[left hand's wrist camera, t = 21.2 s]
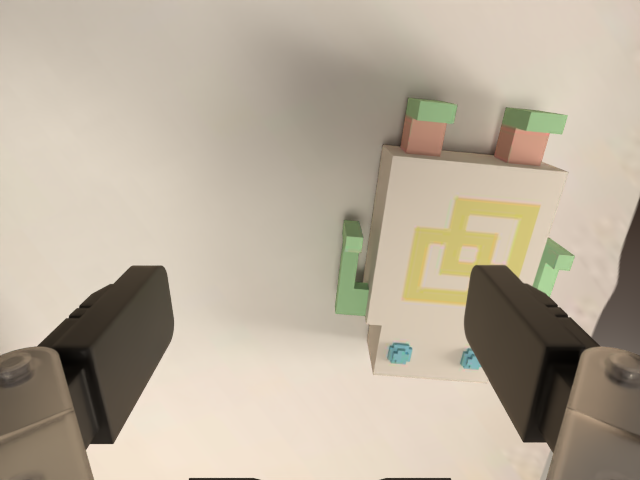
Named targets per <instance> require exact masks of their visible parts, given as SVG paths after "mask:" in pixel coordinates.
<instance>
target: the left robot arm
mask: <svg viewBox="0 0 640 480" xmlns="http://www.w3.org/2000/svg"><path fill="white" fill-rule="evenodd" d="M173 330H174V317H173V310H172V303H171V297H170V290H169V284H168V277H167V272H166V270H165V268H164V267H163V266H131V267H130V268H129V269H128V270H127V271H126V272H125V273H124V274H123V275H122V276H121V277H120V278H119V279H118V280H117V281H116V282H115V283H114V284H110V285H108V286H106V287H104V288H102V289H100V290H98V291H97V292H95V293H93V294H91V295H90V296H89V297H88V298H87V299H86V300H85V301H84V302H83V303H82V304H81V305H80V306H79V308H77V309H76V310H75V311H73V312H72V313H71V314H70V315H69V318H66V319H65V320H64V321H63V322H62V323H61V324H60V325H59V326H58V327H57V328H56V329H55V330H54V331H53V332H52V333H50V334H49V335H48V336H47V337H46V338H45V339H44V340H43V341H42V342H41V343H40V344H39V345H38V346H37V347H28V348H23V349H18V350H15V351H11V352H8V353H6V354H3V355H1V356H0V480H94V478H93V474H92V471H91V467H90V463H89V460H88V456H87V453H86V449H87V448H88V446H89V444H114V442H115V440H116V438H117V436H118V435H119V433H120V431H121V429H122V428H123V426H124V424H125V422H126V420H127V419H128V417H129V415H130V413H131V411H132V410H133V408H134V406H135V404H136V403H137V401H138V399H139V397H140V395H141V394H142V392H143V390H144V388H145V387H146V385H147V383H148V381H149V379H150V378H151V376H152V374H153V372H154V370H155V369H156V367H157V365H158V363H159V362H160V360H161V358H162V356H163V354H164V353H165V351H166V349H167V347H168V346H169V344H170V342H171V339H172V336H173ZM464 331H465V336H466V339H467V342H468V343H469V345H470V347H471V349H472V351H473V352H474V354H475V356H476V358H477V360H478V361H479V363H480V365H481V367H482V369H483V371H484V372H485V374H486V376H487V378H488V380H489V381H490V383H491V385H492V387H493V389H494V390H495V392H496V394H497V396H498V398H499V399H500V401H501V403H502V405H503V407H504V408H505V410H506V412H507V414H508V416H509V417H510V419H511V421H512V423H513V425H514V426H515V428H516V430H517V432H518V434H519V435H520V437H521V439H522V441H523V442H547V444H548V445H549V447H550V449H551V450H552V452H553V456H552V460H551V464H550V467H549V471H548V474H547V478H546V480H640V356H639V355H637V354H634V353H632V352H629V351H625V350H622V349H617V348H612V347H601V346H599V345H598V344H597V343H596V342H595V341H594V340H593V339H592V338H591V337H590V336H589V335H588V334H587V333H586V332H585V331H584V330H583V329H582V328H581V327H580V326H579V325H578V324H577V323H576V322H575V321H574V320H573V319H572V318H571V317H568V315H567V314H566V313H565V312H564V311H563V310H562V309H561V308H560V307H558V305H557V304H556V303H555V302H554V301H553V300H552V299H551V298H550V297H549V296H548V295H547V294H546V293H544V292H542V291H540V290H538V289H536V288H535V287H533V286H531V285H529V284H527V283H523V282H522V281H521V280H520V279H519V278H518V277H517V276H516V275H515V274H514V273H513V272H512V271H511V270H510V269H509V268H508V267H507V266H506V265H475V266H474V267H473V268H472V271H471V275H470V281H469V288H468V294H467V301H466V308H465V314H464ZM189 480H259V479H255V478H189ZM381 480H451V478H385V479H381Z"/></svg>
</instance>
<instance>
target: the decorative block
mask: <svg viewBox="0 0 640 480" xmlns="http://www.w3.org/2000/svg"><path fill="white" fill-rule="evenodd" d="M456 110H457V104H453V103H448V102H443V101H435V100H425V99H415V98H408V103H407V109H406V115H405V122H404V128H403V134H402V140H401V146H392V145H383V147H382V154H381V160H380V167H379V174H378V181H377V188H376V195H375V201H374V208H373V215H372V222H371V229H370V236H369V242H368V249H367V256H366V263H365V270H364V277H363V282H355V277H356V270H357V263H358V256H359V253H361V251H362V244H363V235H362V231H361V227H360V223H359V221H349V220H344V225H343V233H342V235H343V245H342V253H341V261H340V269H339V278H338V286H337V294H336V302H335V313H336V314H346V315H358V316H365V319H366V324H369V331H368V338H367V343H368V348H369V354H370V360H371V365H372V371H373V375H382V376H396V377H409V378H422V379H435V380H449V381H462V382H475V383H487V382H488V378H487V376H486V374H485V372H484V371H483V369H482V367H481V365H480V363H479V361H478V360H477V358H476V356H475V354H474V352H473V351H472V349H471V347H470V345H469V343H468V342H467V339H466V336H465V331H464V314H465V308H466V301H467V294H468V288H469V281H470V275H471V271H472V268H473V267H474V266H475V265H506V266H507V267H508V268H509V269H510V270H511V271H512V272H513V273H514V274H515V275H516V276H517V277H518V278H519V279H520V280H521V281H522V282H523V283H527V284H529V285H531V286H533V287H535V288H536V289H538V290H540V291H542V292H544V293H546V294H547V295H548V296H549V297H550V295H551V292H552V289H553V286H554V283H555V280H556V277H557V274H558V271H559V270H567V271H570V269H571V266H572V263H573V260H574V257H575V256H574V255H573V254H571V253H570V252H569V251H567V250H566V249H564V248H563V247H561V246H560V245H559V244H557V243H556V242H554V241H553V240H552V239H550V238H548V235H549V232H550V229H551V226H552V223H553V220H554V217H555V213H556V210H557V207H558V204H559V201H560V198H561V194H562V191H563V188H564V185H565V182H566V179H567V175H568V172H567V171H564V170H562V169H559V168H556V167H554V166H551V165H549V164H546V163H544V162H542V158H543V155H544V151H545V148H546V144H547V141H548V138H549V134H550V133H553V134H562V133H563V130H564V126H565V123H566V120H567V116H568V115H562V114H556V113H550V112H544V111H537V110H527V109H517V108H506V109H505V113H504V117H503V122H502V126H501V130H500V134H499V138H498V142H497V146H496V150H495V154H494V155H487V154H477V153H466V152H455V151H445V150H442V145H443V140H444V135H445V130H446V125H447V123H449V124H454V120H455V115H456Z"/></svg>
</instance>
